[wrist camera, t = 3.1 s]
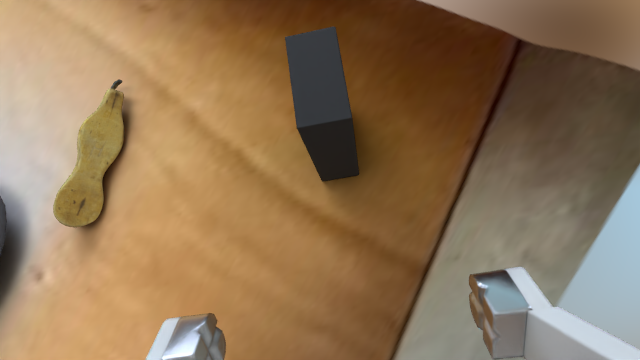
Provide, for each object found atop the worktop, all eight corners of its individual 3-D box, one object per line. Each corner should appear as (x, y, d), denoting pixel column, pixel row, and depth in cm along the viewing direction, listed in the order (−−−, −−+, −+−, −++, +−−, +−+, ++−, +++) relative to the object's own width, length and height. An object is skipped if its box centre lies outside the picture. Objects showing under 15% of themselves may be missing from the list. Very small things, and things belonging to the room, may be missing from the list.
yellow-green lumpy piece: (133, 94, 36) (142, 86, 34) (88, 230, 32) (94, 231, 30) (95, 79, 34) (101, 68, 32) (43, 222, 30) (46, 222, 28)
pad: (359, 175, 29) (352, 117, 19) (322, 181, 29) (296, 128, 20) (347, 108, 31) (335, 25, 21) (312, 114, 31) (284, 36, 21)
